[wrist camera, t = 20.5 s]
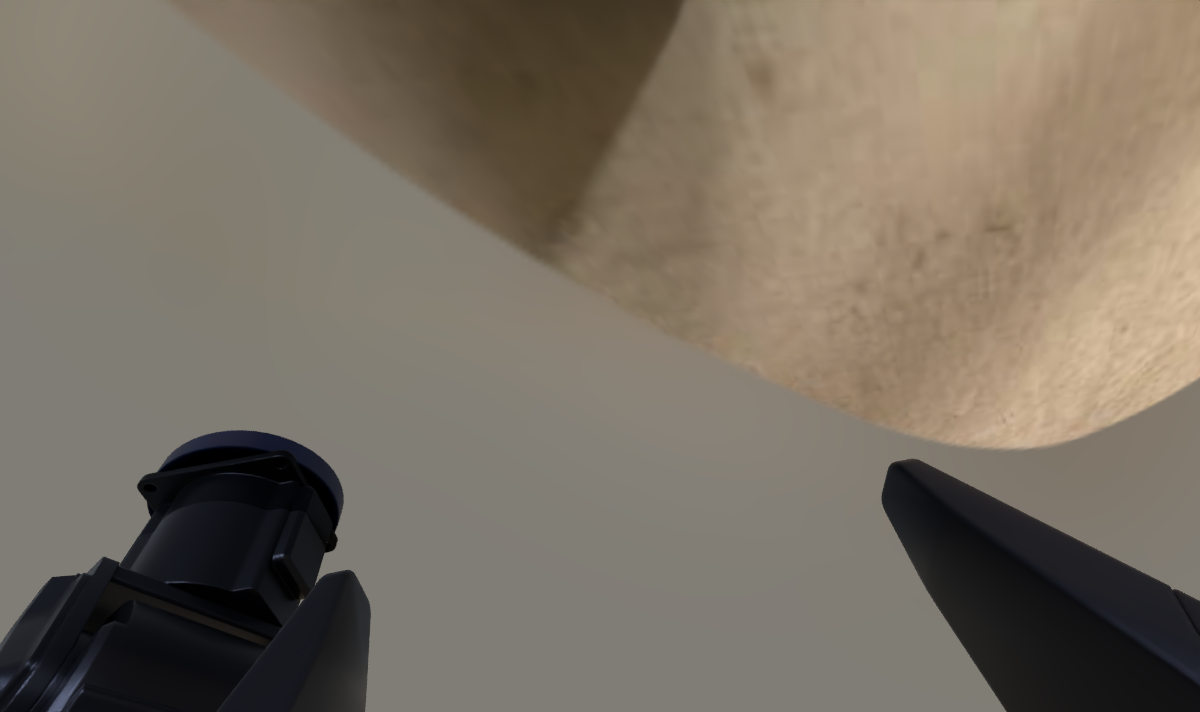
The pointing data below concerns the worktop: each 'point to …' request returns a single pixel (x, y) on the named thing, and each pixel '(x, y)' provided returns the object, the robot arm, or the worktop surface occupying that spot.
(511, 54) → the worktop surface
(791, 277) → the worktop surface
